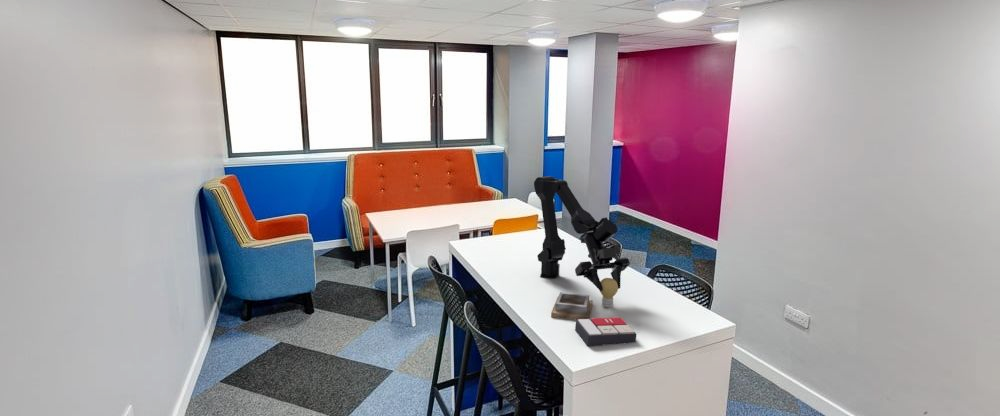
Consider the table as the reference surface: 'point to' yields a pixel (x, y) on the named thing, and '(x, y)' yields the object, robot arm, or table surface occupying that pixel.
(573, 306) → the square frame
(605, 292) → the light bulb
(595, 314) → the table surface
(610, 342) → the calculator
